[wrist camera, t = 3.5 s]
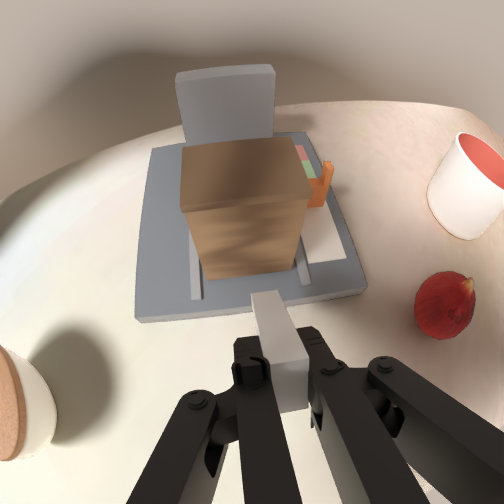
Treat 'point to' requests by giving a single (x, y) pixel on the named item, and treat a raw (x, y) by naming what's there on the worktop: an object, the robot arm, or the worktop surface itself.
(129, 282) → the worktop surface
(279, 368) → the robot arm
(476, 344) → the worktop surface
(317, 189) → the orange bracket
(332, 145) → the worktop surface
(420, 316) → the onion
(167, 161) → the base
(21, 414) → the lidded jar
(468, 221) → the cup
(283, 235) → the brown rectangular block
